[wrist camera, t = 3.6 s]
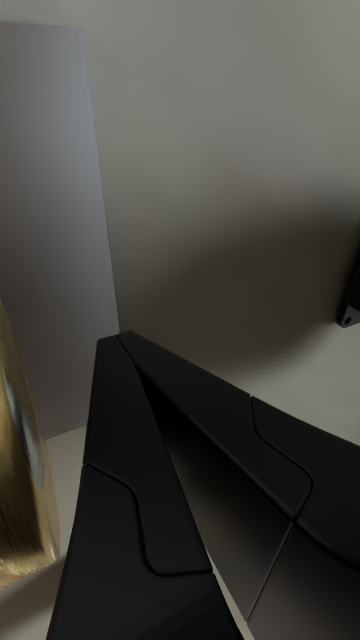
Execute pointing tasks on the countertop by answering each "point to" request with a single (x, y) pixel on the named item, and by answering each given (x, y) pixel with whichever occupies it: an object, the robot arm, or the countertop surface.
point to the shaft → (23, 471)
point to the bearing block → (52, 219)
